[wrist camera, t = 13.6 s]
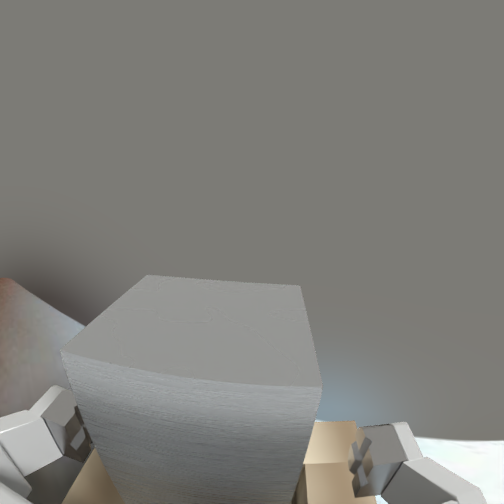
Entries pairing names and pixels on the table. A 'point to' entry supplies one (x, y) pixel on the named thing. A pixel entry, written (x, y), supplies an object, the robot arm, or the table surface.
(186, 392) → the steel post
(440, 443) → the table surface
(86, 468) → the well block
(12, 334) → the table surface
